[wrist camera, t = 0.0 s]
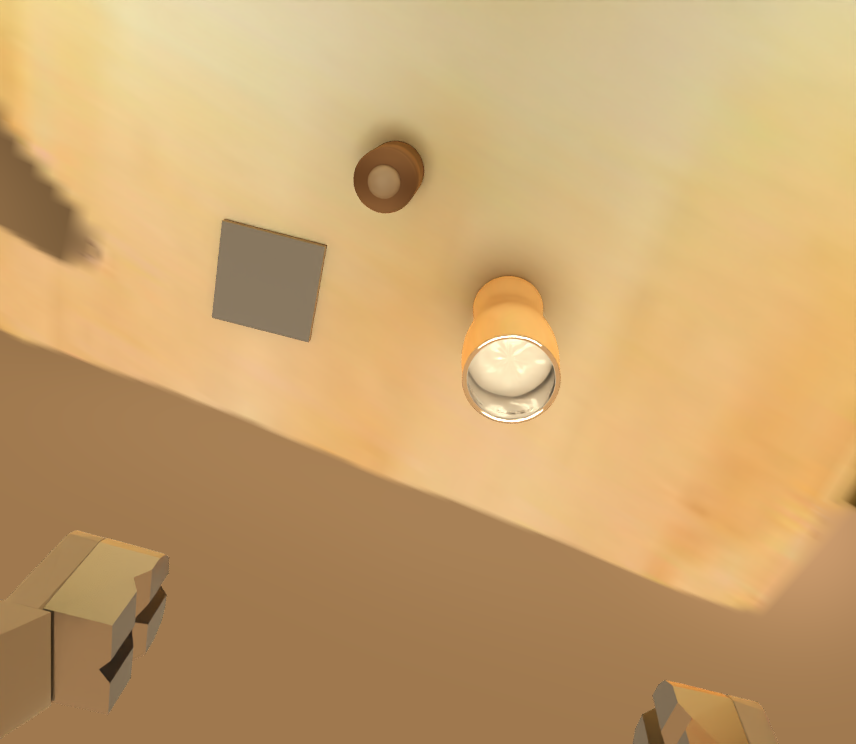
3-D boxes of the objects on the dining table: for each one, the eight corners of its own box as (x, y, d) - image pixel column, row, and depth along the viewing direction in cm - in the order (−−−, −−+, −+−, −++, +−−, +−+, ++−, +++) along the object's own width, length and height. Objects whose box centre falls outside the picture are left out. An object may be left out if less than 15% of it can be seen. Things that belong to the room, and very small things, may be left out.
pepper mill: (374, 134, 54) (356, 143, 47) (429, 149, 54) (419, 159, 47) (363, 191, 56) (344, 207, 49) (417, 205, 56) (405, 223, 49)
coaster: (224, 219, 58) (222, 220, 57) (326, 245, 58) (325, 247, 57) (214, 315, 61) (212, 317, 61) (310, 339, 61) (308, 342, 61)
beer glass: (455, 327, 60) (442, 402, 46) (488, 257, 57) (485, 314, 43) (525, 358, 60) (534, 441, 46) (562, 290, 57) (583, 357, 44)
